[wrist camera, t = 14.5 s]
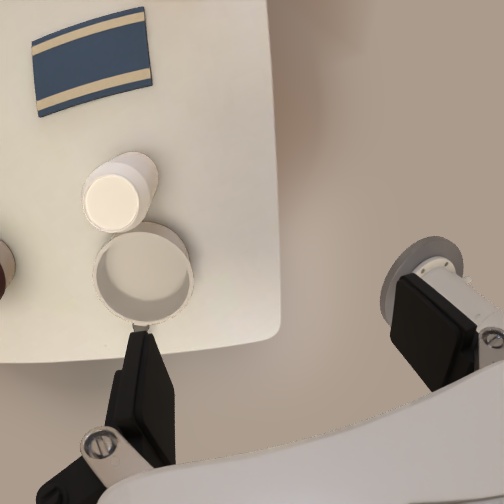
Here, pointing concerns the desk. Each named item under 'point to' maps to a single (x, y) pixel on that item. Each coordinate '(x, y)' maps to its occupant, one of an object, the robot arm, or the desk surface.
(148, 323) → the saucepan
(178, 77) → the desk surface
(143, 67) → the towel
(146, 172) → the beverage can
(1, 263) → the coffee cup
